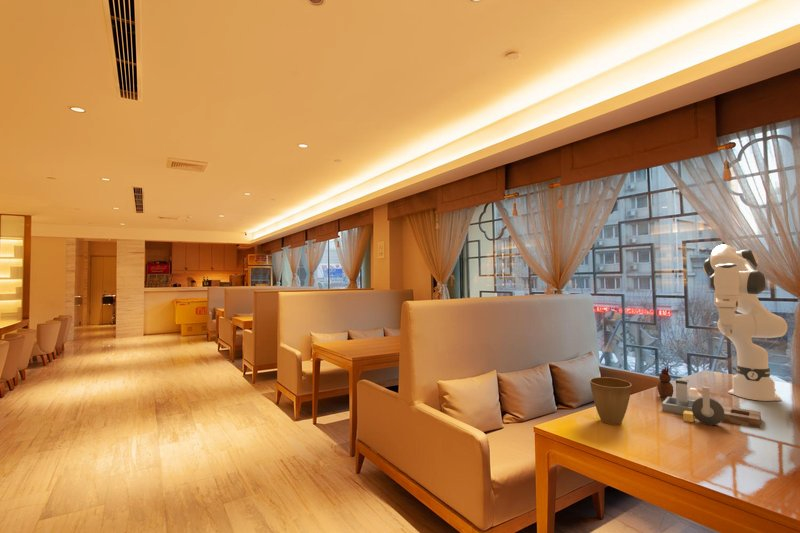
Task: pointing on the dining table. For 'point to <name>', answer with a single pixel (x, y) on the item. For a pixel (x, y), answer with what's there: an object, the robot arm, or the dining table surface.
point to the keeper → (741, 416)
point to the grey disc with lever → (705, 410)
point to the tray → (675, 406)
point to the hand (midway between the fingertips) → (728, 334)
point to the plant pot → (610, 398)
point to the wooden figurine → (665, 384)
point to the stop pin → (682, 392)
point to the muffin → (694, 394)
